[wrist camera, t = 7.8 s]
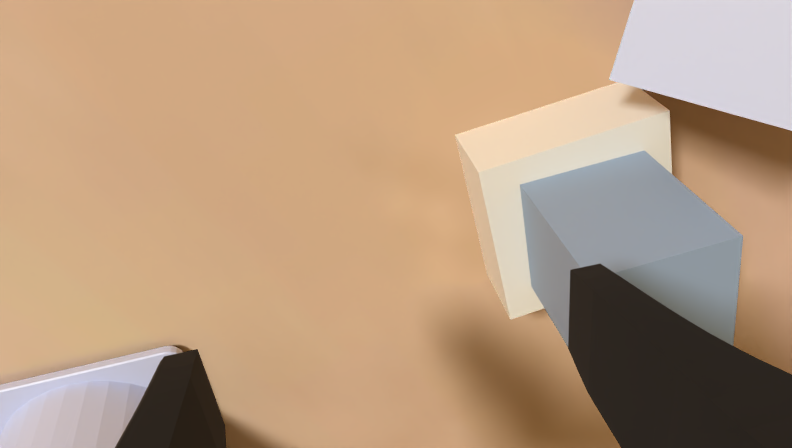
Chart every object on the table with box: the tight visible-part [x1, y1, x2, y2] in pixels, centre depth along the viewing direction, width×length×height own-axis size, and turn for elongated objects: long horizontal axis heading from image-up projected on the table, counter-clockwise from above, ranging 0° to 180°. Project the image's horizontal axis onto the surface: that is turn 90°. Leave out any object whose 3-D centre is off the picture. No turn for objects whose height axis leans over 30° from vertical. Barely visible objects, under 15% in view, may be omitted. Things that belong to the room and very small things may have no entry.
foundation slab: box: [455, 82, 672, 320], centre depth 24 cm, size 6×6×3 cm
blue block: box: [520, 150, 743, 346], centre depth 21 cm, size 4×4×5 cm
